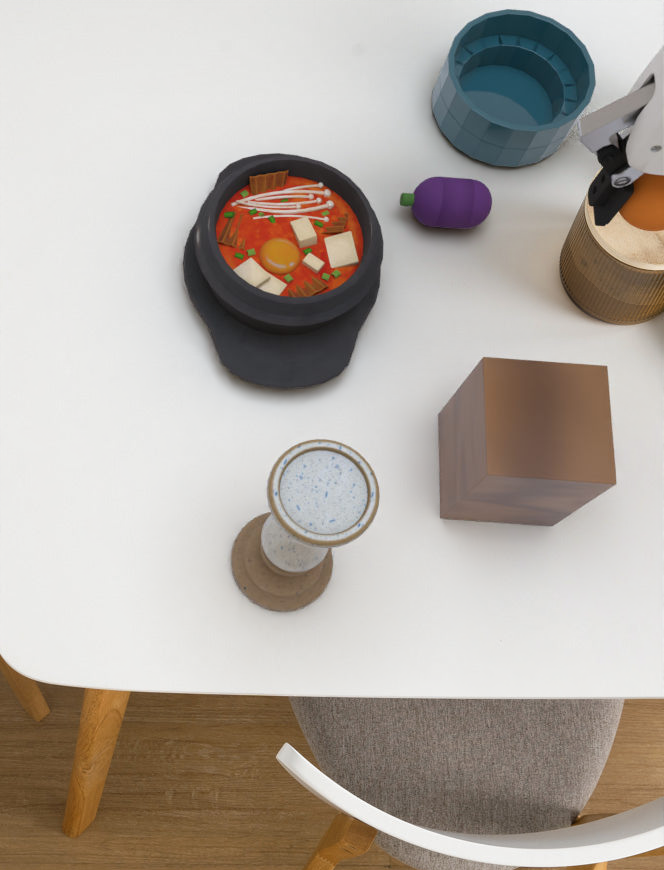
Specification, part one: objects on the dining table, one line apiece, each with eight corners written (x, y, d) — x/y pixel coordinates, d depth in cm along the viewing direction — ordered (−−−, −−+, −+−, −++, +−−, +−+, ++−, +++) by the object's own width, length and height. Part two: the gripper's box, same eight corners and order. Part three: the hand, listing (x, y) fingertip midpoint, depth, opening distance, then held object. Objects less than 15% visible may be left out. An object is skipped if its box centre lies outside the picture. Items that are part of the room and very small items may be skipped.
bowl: (564, 59, 101) (590, 15, 95) (572, 175, 97) (600, 136, 91) (429, 49, 101) (447, 4, 95) (431, 164, 96) (450, 124, 91)
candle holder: (234, 614, 82) (264, 556, 63) (226, 516, 85) (254, 431, 66) (336, 609, 83) (397, 551, 63) (325, 511, 85) (381, 426, 66)
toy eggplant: (481, 199, 95) (498, 170, 91) (483, 240, 94) (500, 212, 90) (395, 193, 95) (407, 163, 91) (395, 233, 94) (408, 205, 90)
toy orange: (674, 181, 65) (718, 130, 60) (682, 249, 63) (728, 202, 58) (597, 176, 65) (634, 125, 60) (603, 244, 63) (643, 197, 58)
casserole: (182, 163, 96) (186, 104, 88) (368, 168, 96) (389, 110, 88) (181, 395, 88) (185, 354, 80) (383, 399, 89) (408, 359, 81)
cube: (546, 421, 89) (607, 365, 77) (552, 526, 86) (617, 484, 74) (437, 414, 88) (483, 356, 77) (440, 518, 85) (487, 474, 74)
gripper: (660, 43, 45) (516, 252, 63) (1019, 64, 46) (777, 267, 63) (644, -81, 48) (509, 154, 65) (987, -61, 48) (761, 169, 65)
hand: (642, 208), depth 64 cm, fingers closed on toy orange, 5 cm apart
